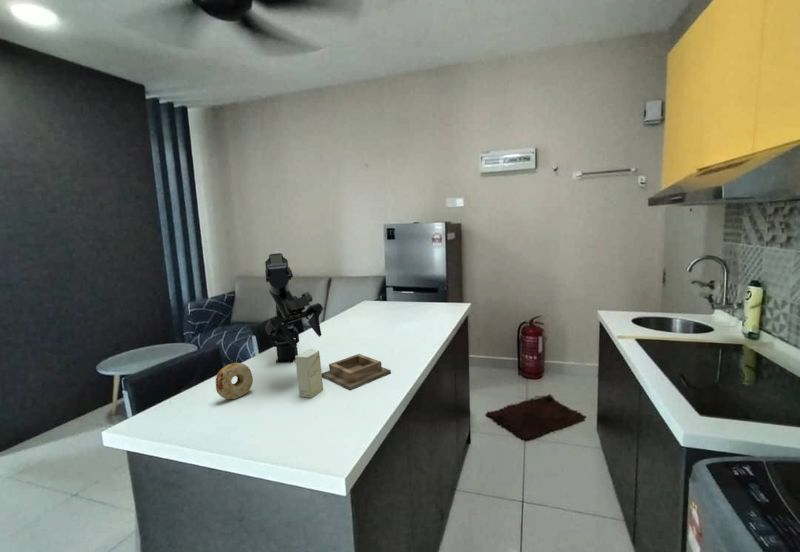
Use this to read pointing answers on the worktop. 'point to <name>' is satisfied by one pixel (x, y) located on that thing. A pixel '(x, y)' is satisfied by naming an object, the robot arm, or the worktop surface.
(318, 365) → the skincare box
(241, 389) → the stone disc
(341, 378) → the socket
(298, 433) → the worktop surface
